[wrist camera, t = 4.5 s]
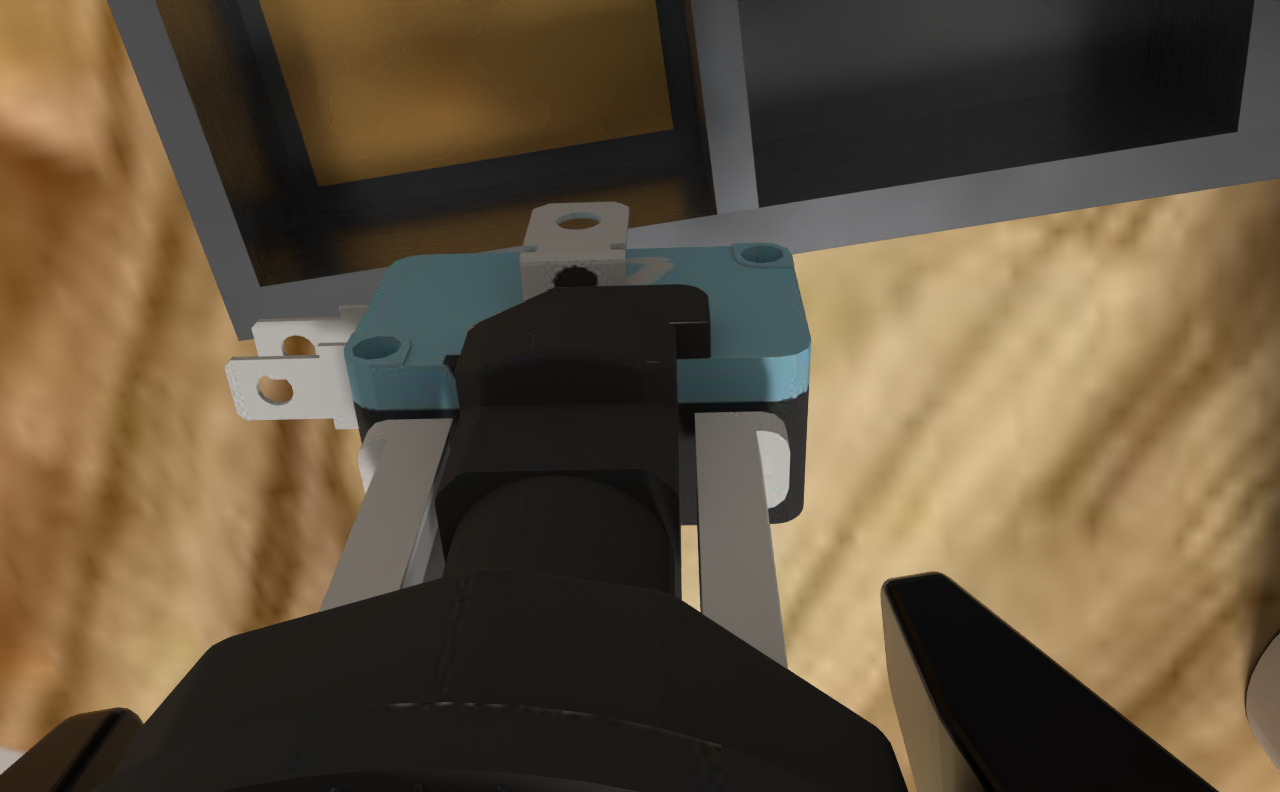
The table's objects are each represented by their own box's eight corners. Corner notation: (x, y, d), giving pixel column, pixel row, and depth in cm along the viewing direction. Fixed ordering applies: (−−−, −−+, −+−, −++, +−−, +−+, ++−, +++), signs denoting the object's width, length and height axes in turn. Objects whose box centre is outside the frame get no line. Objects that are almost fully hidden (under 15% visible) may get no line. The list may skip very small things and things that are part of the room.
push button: (314, 494, 15) (-172, 1542, 6) (218, 107, 12) (-900, 1044, 3) (805, 484, 14) (1004, 1567, 6) (824, 86, 12) (1249, 1039, 3)
